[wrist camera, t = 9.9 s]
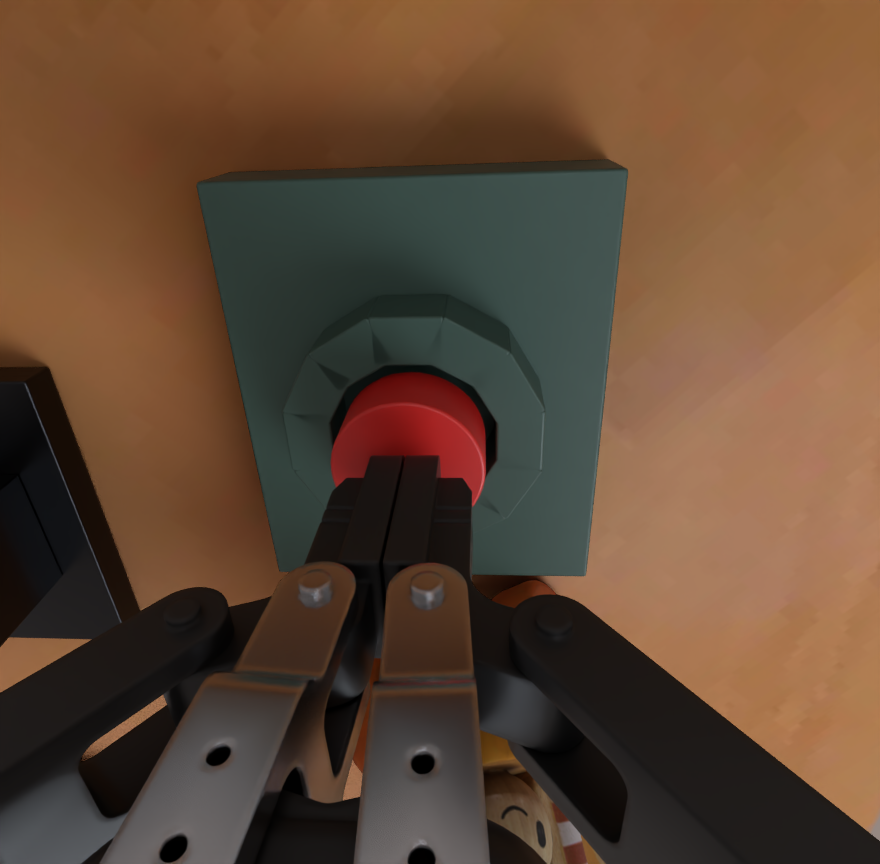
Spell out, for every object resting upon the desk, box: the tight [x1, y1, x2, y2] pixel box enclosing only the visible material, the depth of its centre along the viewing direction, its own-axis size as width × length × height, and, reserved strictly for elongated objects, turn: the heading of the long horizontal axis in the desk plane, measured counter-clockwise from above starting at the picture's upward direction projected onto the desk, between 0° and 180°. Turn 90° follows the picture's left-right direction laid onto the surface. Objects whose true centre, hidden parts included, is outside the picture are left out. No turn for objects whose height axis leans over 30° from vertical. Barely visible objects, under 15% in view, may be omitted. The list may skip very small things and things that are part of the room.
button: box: [331, 372, 486, 507], centre depth 15 cm, size 4×4×2 cm
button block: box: [197, 159, 628, 576], centre depth 17 cm, size 12×10×4 cm
